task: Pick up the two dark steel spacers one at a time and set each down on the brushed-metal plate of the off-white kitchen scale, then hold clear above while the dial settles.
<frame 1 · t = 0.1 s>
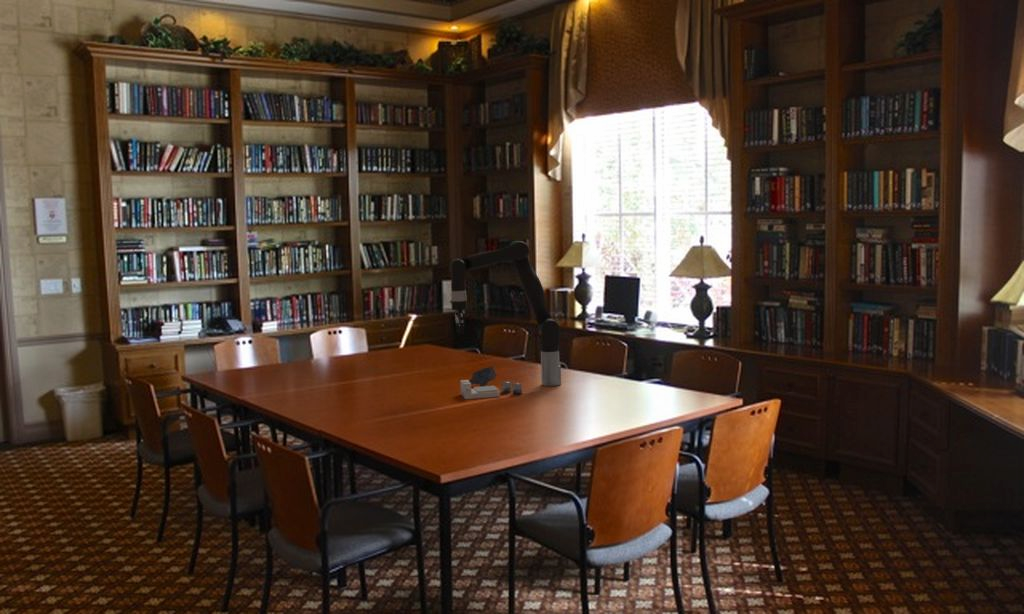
hand: (460, 332, 443), 29 cm above the table, fingers open, 8 cm apart
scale: (480, 395, 435), on the table
stone: (483, 386, 459), on the table
spacer b: (506, 392, 440), on the table
spacer a: (517, 394, 435), on the table
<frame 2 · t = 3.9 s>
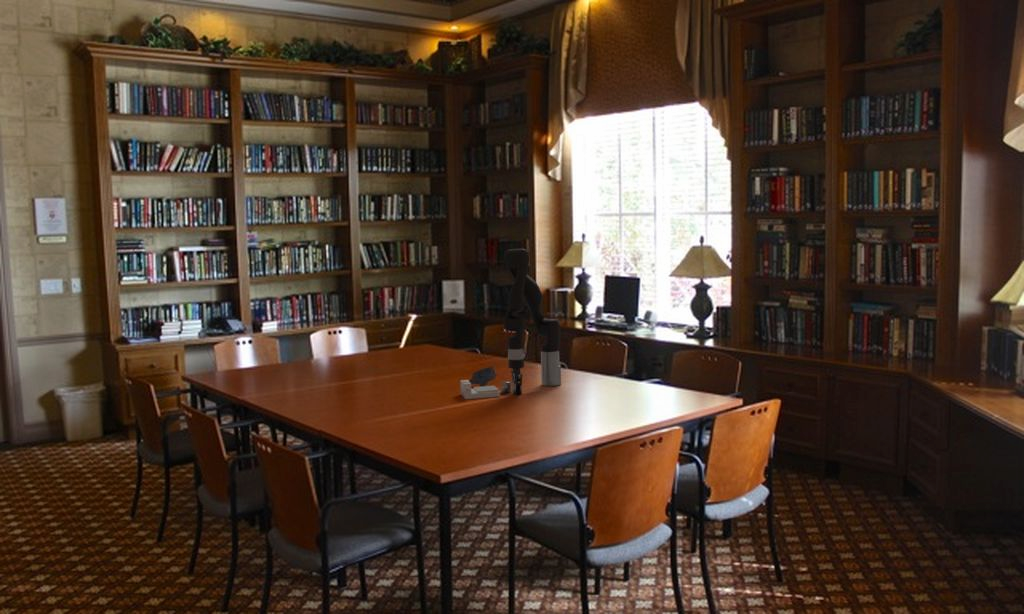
hand: (517, 392, 435), 1 cm above the table, fingers closed on spacer a, 4 cm apart
spacer a: (517, 394, 435), on the table, touching gripper
everything else where it was.
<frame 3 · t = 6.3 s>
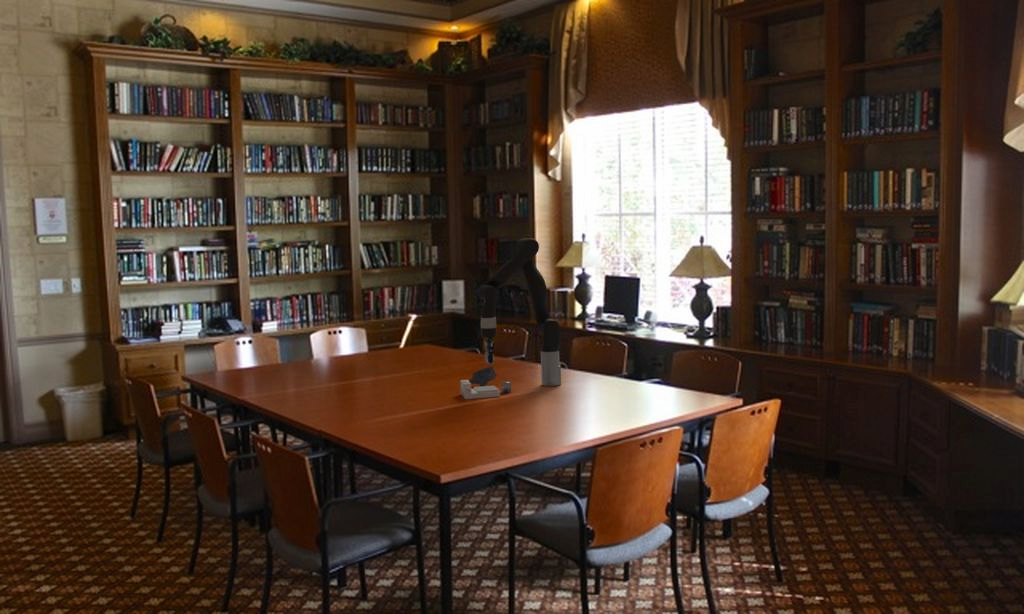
hand: (489, 361, 437), 16 cm above the table, fingers closed on spacer a, 4 cm apart
spacer a: (489, 362, 437), point 15 cm above the table, touching gripper
everything else where it was.
when the fingers open (5 cm above the table, at t = 8.7 s): spacer a stays where it is, resting on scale.
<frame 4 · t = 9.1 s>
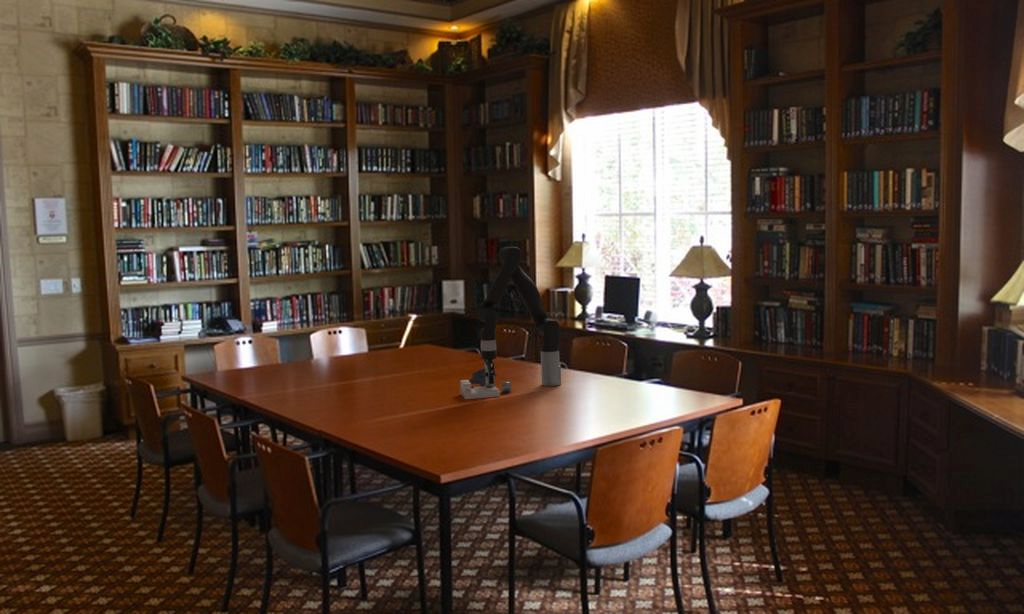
hand: (489, 382, 438), 5 cm above the table, fingers open, 7 cm apart
spacer a: (490, 386, 438), point 3 cm above the table, touching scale
everything else where it was.
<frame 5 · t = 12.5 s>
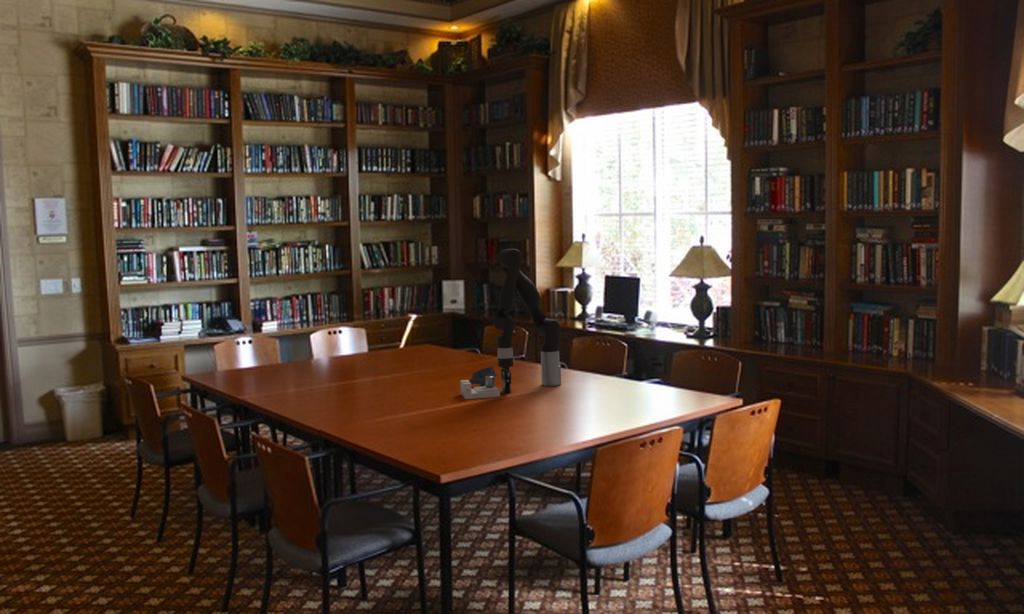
hand: (506, 391, 440), 1 cm above the table, fingers closed on spacer b, 4 cm apart
spacer b: (506, 392, 440), on the table, touching gripper
everything else where it was.
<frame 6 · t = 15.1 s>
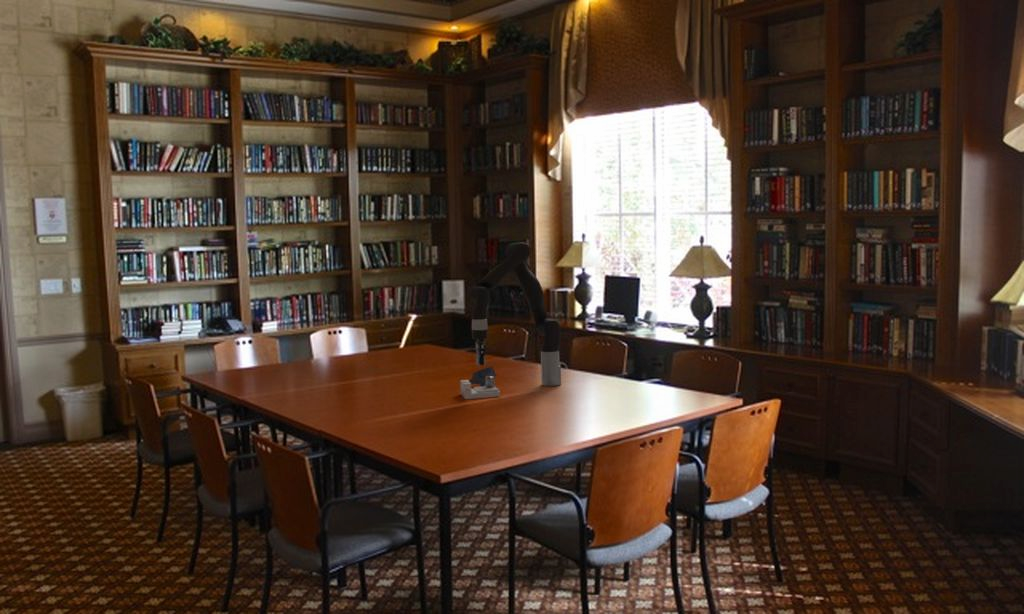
hand: (480, 363, 430), 16 cm above the table, fingers closed on spacer b, 4 cm apart
spacer b: (480, 365, 430), point 15 cm above the table, touching gripper
everything else where it was.
when the fingers open (5 cm above the table, at t = 17.5 s): spacer b stays where it is, resting on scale.
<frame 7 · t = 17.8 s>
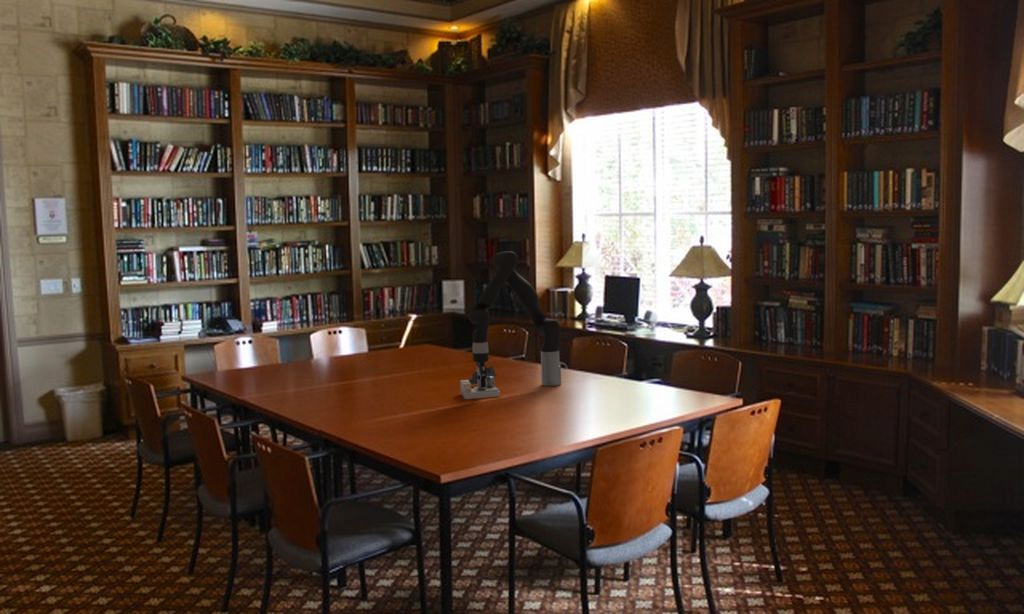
hand: (481, 385, 431), 5 cm above the table, fingers open, 7 cm apart
spacer b: (482, 389, 431), point 3 cm above the table, touching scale
everything else where it was.
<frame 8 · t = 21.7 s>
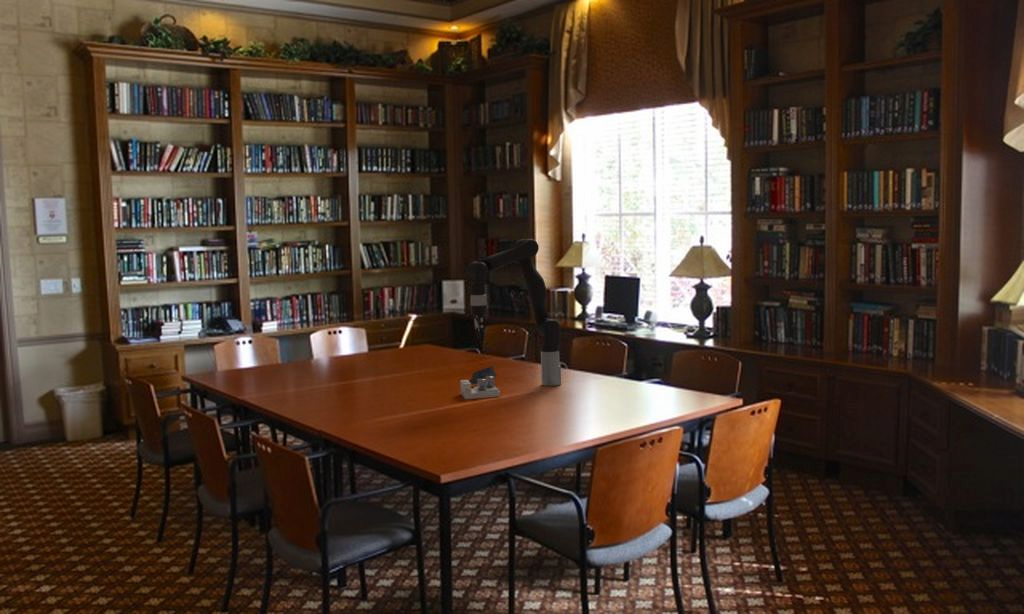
hand: (480, 338, 429), 28 cm above the table, fingers open, 8 cm apart
nothing on the table moved.
at the end: spacer a inside the target area on the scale (3.8 cm from its centre), point 3.2 cm above the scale's base; spacer b inside the target area on the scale (3.9 cm from its centre), point 3.2 cm above the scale's base; spacer b touching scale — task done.
